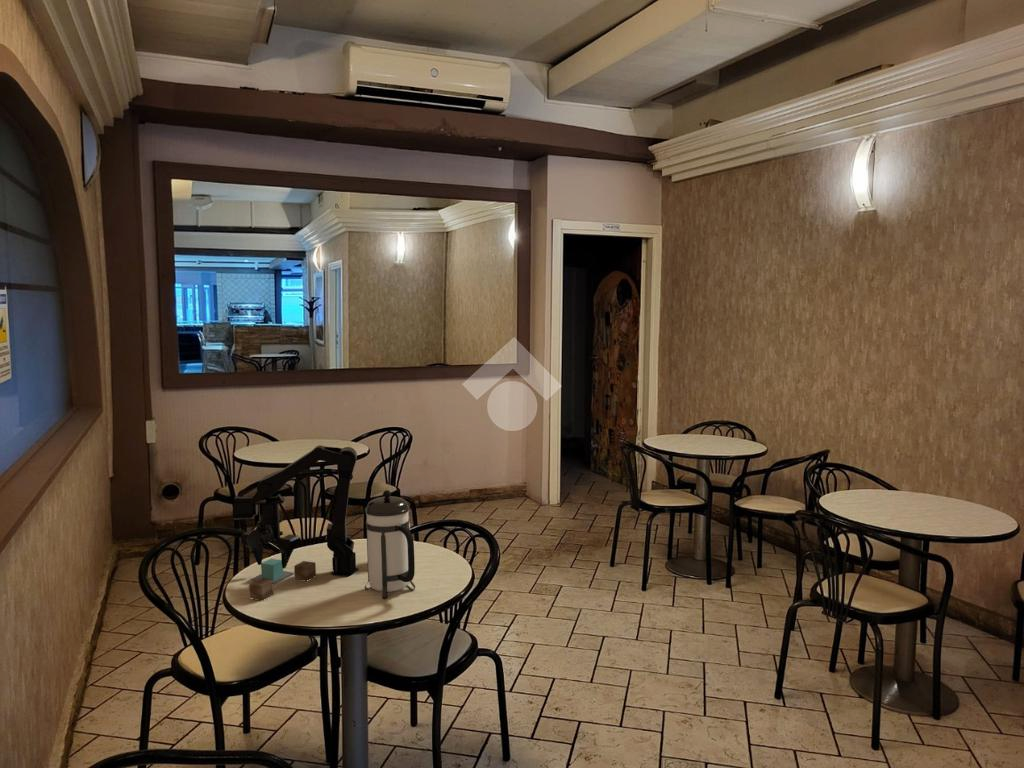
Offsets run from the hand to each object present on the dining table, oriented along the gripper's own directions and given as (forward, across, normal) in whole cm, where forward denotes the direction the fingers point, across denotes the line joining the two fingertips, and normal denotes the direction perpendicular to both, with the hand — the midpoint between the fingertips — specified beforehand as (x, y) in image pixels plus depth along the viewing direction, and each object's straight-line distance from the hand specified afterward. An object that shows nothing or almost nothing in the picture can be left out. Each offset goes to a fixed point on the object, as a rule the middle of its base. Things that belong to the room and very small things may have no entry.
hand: (271, 566), depth 226 cm
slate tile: (+4, 0, 0) cm, 4 cm away
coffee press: (+4, +41, +3) cm, 41 cm away
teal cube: (+3, 0, 0) cm, 3 cm away
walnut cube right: (+4, +10, +3) cm, 11 cm away
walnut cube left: (+4, +7, -14) cm, 16 cm away
